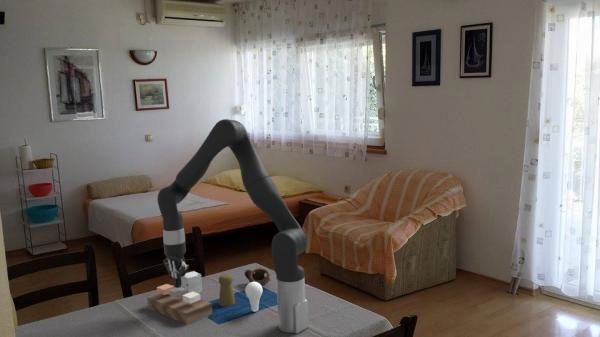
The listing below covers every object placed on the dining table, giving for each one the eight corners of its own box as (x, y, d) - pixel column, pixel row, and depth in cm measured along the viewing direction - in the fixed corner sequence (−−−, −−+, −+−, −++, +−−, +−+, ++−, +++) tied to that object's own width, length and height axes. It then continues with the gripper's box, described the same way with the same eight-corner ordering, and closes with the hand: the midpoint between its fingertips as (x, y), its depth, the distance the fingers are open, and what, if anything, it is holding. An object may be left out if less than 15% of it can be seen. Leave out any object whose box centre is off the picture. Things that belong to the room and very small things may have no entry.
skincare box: (181, 292, 207) (180, 274, 206) (195, 287, 211) (194, 270, 210) (189, 296, 202) (187, 278, 201) (202, 292, 206) (201, 274, 205)
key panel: (212, 313, 185) (211, 303, 185) (187, 324, 177) (186, 313, 176) (172, 298, 201) (172, 288, 200) (147, 307, 193) (147, 297, 192)
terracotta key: (174, 291, 194) (173, 286, 193) (164, 295, 190) (163, 290, 190) (167, 288, 196) (166, 283, 196) (157, 292, 193) (156, 287, 193)
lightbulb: (253, 306, 190) (251, 278, 188) (266, 310, 187) (265, 280, 185) (243, 313, 185) (241, 283, 183) (257, 316, 182) (255, 286, 180)
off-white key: (200, 299, 183) (200, 294, 183) (190, 303, 180) (190, 298, 179) (193, 296, 186) (192, 291, 186) (182, 300, 183) (182, 295, 182)
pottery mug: (275, 283, 214) (274, 270, 209) (264, 300, 208) (263, 287, 203) (249, 273, 218) (248, 260, 213) (238, 289, 212) (236, 276, 207)
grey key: (187, 294, 188) (186, 289, 188) (176, 298, 185) (176, 292, 185) (179, 291, 191) (179, 286, 191) (169, 295, 188) (169, 290, 188)
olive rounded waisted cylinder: (236, 299, 197) (235, 272, 195) (233, 306, 191) (231, 277, 189) (221, 299, 197) (219, 272, 196) (217, 306, 191) (215, 277, 190)
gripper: (194, 241, 184) (197, 288, 186) (172, 235, 192) (175, 280, 195) (176, 246, 178) (180, 294, 181) (154, 240, 187) (158, 286, 189)
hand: (177, 287), depth 188 cm, fingers closed
